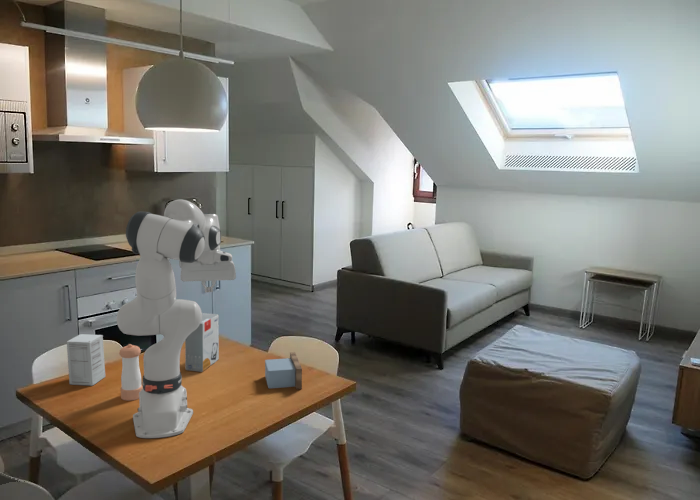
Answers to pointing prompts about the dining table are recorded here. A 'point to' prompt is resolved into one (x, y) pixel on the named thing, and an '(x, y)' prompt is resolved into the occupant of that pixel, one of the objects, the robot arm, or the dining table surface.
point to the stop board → (297, 370)
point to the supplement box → (86, 359)
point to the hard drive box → (203, 344)
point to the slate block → (280, 373)
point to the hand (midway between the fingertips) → (208, 292)
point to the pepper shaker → (130, 372)
